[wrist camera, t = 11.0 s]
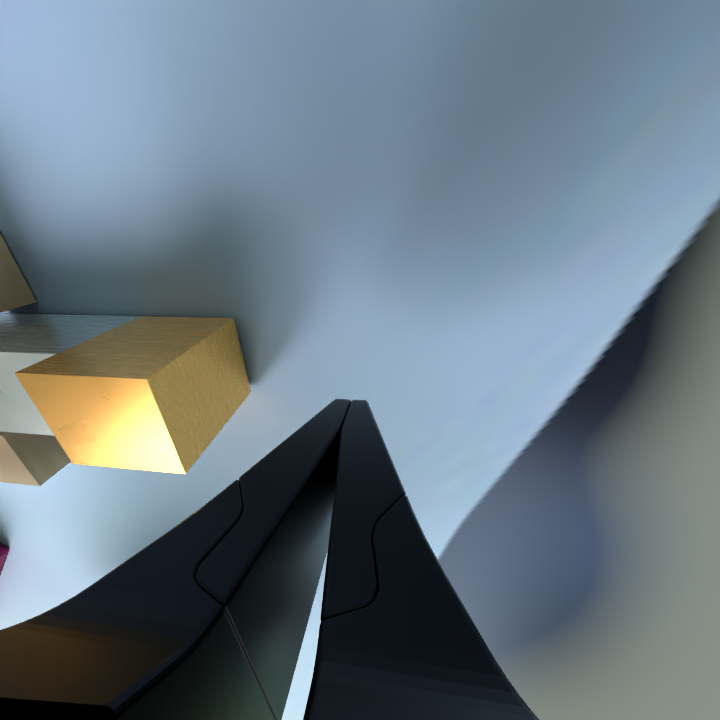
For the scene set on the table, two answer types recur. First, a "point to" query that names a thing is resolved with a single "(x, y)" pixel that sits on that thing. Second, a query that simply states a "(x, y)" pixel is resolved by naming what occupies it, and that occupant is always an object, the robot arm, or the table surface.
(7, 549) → the book
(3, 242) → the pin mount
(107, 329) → the pin
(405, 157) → the table surface
